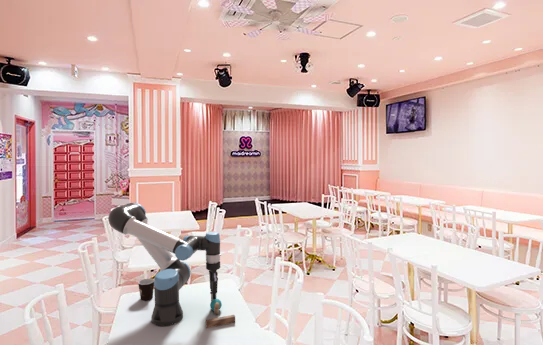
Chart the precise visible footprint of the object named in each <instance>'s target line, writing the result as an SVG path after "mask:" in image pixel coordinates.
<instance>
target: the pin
mask: <svg viewBox="0 0 543 345" xmlns="http://www.w3.org/2000/svg"><path fill="white" fill-rule="evenodd" d="M219 305H220V304H219V303H218V302H216V303H215V306H214V311H213V314H214V315H215V316H216V315H218V314H219V312H220V309H219Z"/></svg>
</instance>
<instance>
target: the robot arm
mask: <svg viewBox="0 0 543 345" xmlns="http://www.w3.org/2000/svg"><path fill="white" fill-rule="evenodd" d="M107 220H108V224H109V225H110V227H112V229H114V230H115V231H116V232H119V233H121V234H123V235H130V236H133V237H136V238H137V240H138V241H139V243H141V245H142V246H143V248H144V249H145V250H146V251H147V253H148V254H149V255H150V256H151V258H152V259H153V260H154V262H155V263H156V265H157V266H158V267H159V271H158V272H157V273H156V274H155V276H154V278H153V279H154V289H153V293H154V307H153V311H152V313H151V323H152V325H154V326H157V327H168V326H172V325H175V324H177V323H179V322H180V321H182V319H183V318H184V311H183V309H182V306H181V303H180V290H181V289H182V288H183V287H184V285H186V284H187V283H188V282H189V280H190V278H191V274H192V273H191V272H192V271H191V268H190V266H189V265H188V263H187V262H184V261H187V260H188V259H190V258H191V257H192V256H193V255H194V254H195V253H196V252H197V251H205V269H206V270H207V271H208V275H209V276H208V277H209V290H210V292H209V293H210V302H211V301H212V300H214V299H217V294H218V284H219V283H218V282H219V278H218V274H219V273H218V270H220V269H221V256H222V254H221V237H220V233H219V232H218V231H209V232H206V233H205V235H202V236H201V235H185V236H184V237H183V239H181V238H179V237H176V236H174V235H173V234H170V233H168V232H165V231H163V230H160V229H158V228H156V227H153V226H152V225H149V223H148V222H149V220H148V217H147V216H146V209H145V207H144V206H143V205H141V204H140V203H136V202H129V203H126V204H123V205H120V206H116V207H114V208H113V209H112V210H111V211H110V212H109V214H108V217H107ZM171 253H172V254H174V256H175V257H174V256H173V255H172V254H171Z"/></svg>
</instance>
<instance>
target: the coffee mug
mask: <svg viewBox="0 0 543 345" xmlns="http://www.w3.org/2000/svg"><path fill="white" fill-rule="evenodd" d="M137 283H138V290H139V296H140V297H139V298H140V301H141V302H148V301H151V300H152V299H153V297H154V278H143V279H140V280H139V281H138V282H137Z"/></svg>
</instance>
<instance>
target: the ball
mask: <svg viewBox="0 0 543 345" xmlns="http://www.w3.org/2000/svg"><path fill="white" fill-rule="evenodd" d="M216 302H218V303H219V304H220V305H219V310H221V308H222V306H223V304H222V301H221V299H218V298H216V299H214V300H212V301H211V300H210V303H209V306H210V309H211V310H212V311H213V312H214V306H215V303H216Z"/></svg>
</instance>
